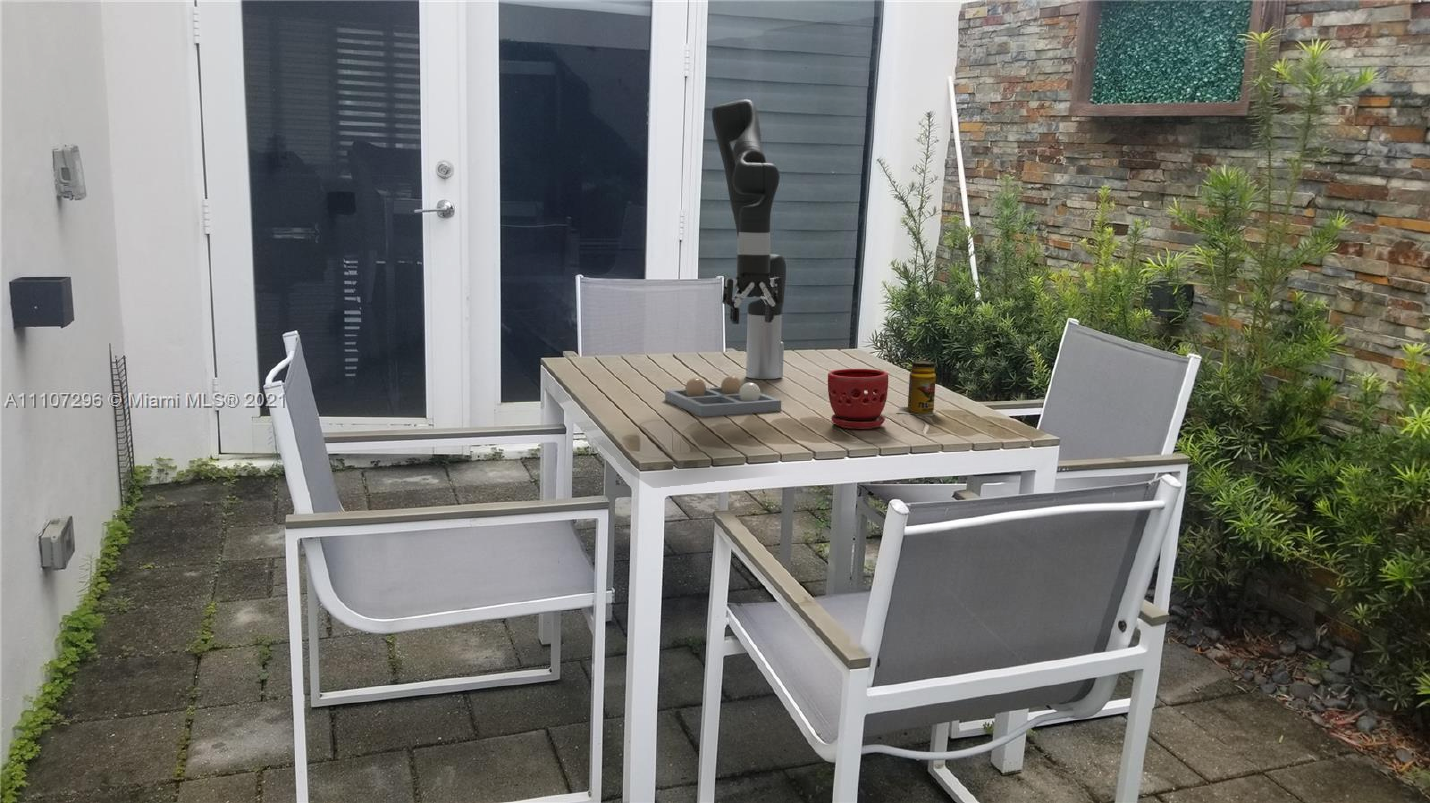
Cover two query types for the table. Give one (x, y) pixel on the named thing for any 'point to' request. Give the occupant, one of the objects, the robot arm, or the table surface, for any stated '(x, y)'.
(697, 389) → the brown egg
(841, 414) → the plant pot
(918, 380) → the condiment
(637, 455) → the table surface
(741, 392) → the pale egg
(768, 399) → the egg tray
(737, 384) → the brown egg
